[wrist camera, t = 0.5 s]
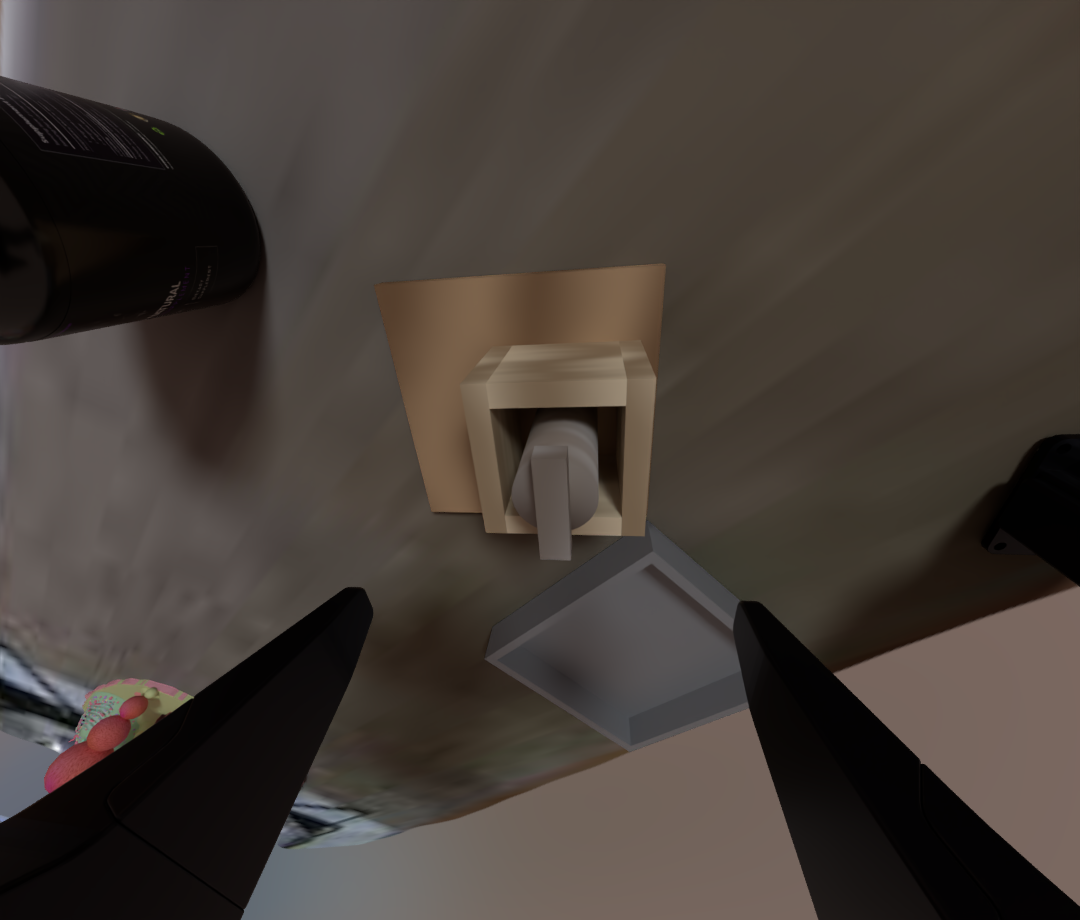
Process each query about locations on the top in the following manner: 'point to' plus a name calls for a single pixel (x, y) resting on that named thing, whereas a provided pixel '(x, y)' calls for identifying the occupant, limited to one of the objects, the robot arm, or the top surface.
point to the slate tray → (629, 643)
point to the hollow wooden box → (562, 382)
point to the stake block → (547, 433)
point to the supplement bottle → (111, 218)
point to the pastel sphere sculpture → (113, 723)
